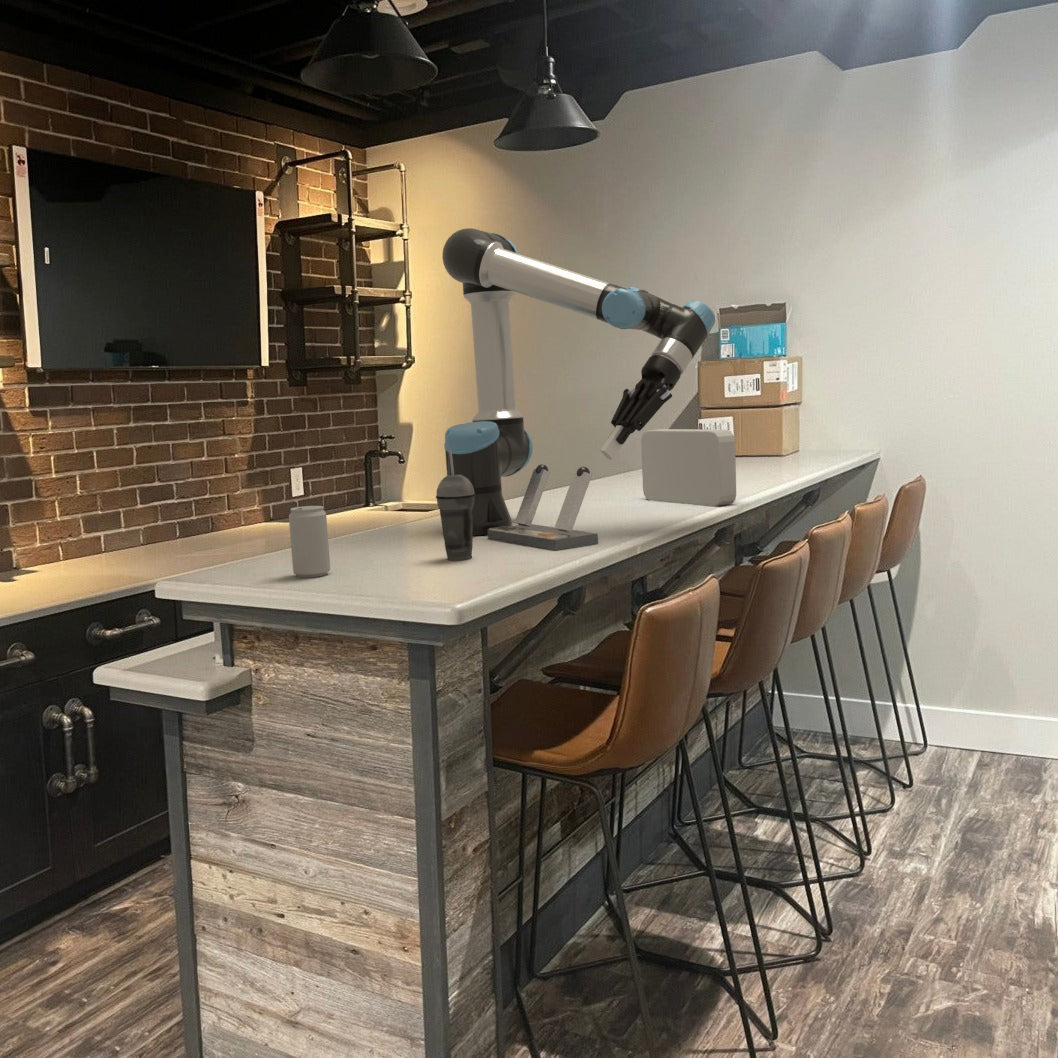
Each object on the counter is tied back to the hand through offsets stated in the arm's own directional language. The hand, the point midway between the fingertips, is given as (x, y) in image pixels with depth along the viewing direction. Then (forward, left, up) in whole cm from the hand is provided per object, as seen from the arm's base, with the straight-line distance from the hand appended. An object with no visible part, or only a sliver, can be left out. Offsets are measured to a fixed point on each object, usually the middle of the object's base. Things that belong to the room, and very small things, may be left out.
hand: (606, 454), depth 204 cm
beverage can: (-48, -35, -17) cm, 62 cm away
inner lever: (-18, +2, -14) cm, 24 cm away
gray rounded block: (+14, +56, -17) cm, 60 cm away
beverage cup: (-25, -21, -17) cm, 37 cm away
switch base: (-13, -3, -16) cm, 21 cm away
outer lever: (-9, -8, -14) cm, 18 cm away
